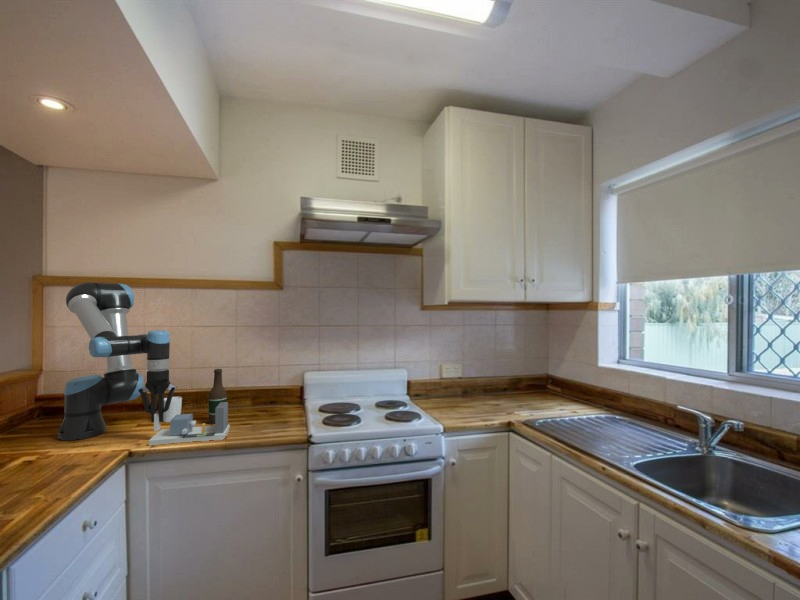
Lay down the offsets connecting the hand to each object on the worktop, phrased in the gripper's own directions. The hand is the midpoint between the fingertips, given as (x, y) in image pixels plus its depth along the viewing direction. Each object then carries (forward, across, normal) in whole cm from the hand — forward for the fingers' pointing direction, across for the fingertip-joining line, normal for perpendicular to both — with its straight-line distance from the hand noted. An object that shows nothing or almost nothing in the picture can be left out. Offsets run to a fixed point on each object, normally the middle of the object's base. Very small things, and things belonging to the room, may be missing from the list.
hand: (157, 429), depth 151 cm
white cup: (+4, -2, +28) cm, 28 cm away
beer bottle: (+4, +18, +19) cm, 27 cm away
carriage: (+2, +10, -2) cm, 10 cm away
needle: (+1, +18, -6) cm, 19 cm away
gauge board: (+4, +12, 0) cm, 13 cm away
